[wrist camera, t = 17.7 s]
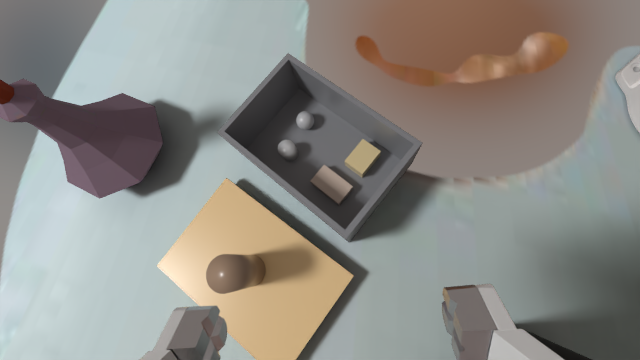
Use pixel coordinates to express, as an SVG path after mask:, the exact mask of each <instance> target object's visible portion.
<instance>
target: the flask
mask: <svg viewBox="0 0 640 360" xmlns="http://www.w3.org/2000/svg"><path fill="white" fill-rule="evenodd" d="M0 118H2V119H4V120H6V121H9V122H28V123H30V124H32V125H34V126H35V127H37V128H38V129H39V130H41V131H42V132H43V133H45V134H46V135H47V136H49V137H50V138H52V139H53V140H54V141H56V142H57V143H58V146H59V149H60V151H61V154H62V157H63V160H64V165H65V170H66V175H67V181H68V182H69V183H71V184H73V185H75V186H77V187H79V188H81V189H83V190H85V191H87V192H88V193H90V194H92V195H94V196H96V197H98V198H102V197H105V196H107V195H110V194H112V193H115V192H117V191H120V190H122V189H125V188H127V187H130V186H132V185H135V184H137V183H140V182H141V181H142V180H143V178H144V177H145V176H146V175H147V173H148V172H149V170H150V168H151V167H152V165H153V163H154V161H155V160H156V158H157V156H158V154H159V152H160V150H161V147H162V144H163V140H162V136H161V132H160V127H159V123H158V119H157V115H156V111H155V106H152V105H150V104H148V103H145V102H143V101H140V100H138V99H135V98H133V97H131V96H128V95H126V94H123V93H122V94H119V95H116V96H113V97H111V98H108V99H105V100H102V101H99V102H95V103H91V104H87V105H83V106H80V105H75V104H71V103H67V102H63V101H59V100H55V99H51V98H49V97H46V96H44V95H43V93H42V92H41V91H40V89H39V88H38V87H37V85H36V84H34V83H32V82H29V81H27V80H25V79H21V80H19V81H17V82H14V83H12V84H10V85H8V84H7V83H5V82H3V81H2V80H0Z"/></svg>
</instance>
